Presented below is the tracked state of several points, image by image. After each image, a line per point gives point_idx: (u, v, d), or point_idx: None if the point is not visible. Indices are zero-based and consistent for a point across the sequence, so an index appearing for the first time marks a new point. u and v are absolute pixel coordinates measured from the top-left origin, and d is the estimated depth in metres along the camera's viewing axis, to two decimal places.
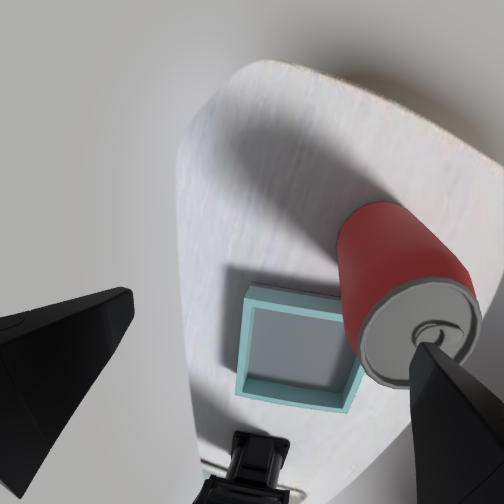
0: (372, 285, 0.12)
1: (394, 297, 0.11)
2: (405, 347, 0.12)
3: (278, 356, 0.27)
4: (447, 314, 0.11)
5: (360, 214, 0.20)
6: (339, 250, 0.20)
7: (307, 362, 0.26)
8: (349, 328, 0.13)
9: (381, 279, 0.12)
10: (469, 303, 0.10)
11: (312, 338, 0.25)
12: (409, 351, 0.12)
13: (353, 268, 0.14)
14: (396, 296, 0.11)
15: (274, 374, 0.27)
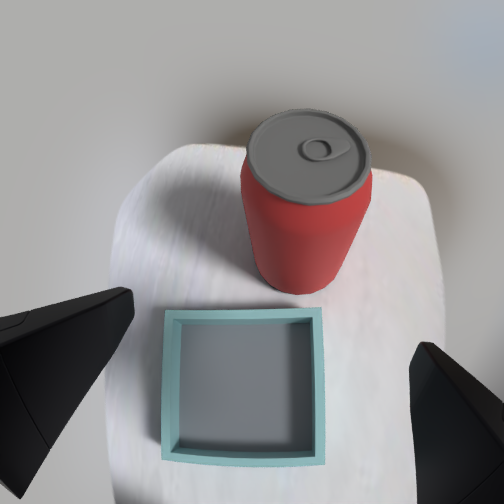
0: None
1: (265, 121, 0.14)
2: (297, 163, 0.13)
3: (214, 405, 0.20)
4: (322, 134, 0.14)
5: None
6: None
7: (252, 408, 0.20)
8: (244, 179, 0.14)
9: None
10: (338, 123, 0.14)
11: (251, 370, 0.21)
12: (305, 166, 0.13)
13: None
14: (266, 121, 0.14)
15: (213, 435, 0.19)
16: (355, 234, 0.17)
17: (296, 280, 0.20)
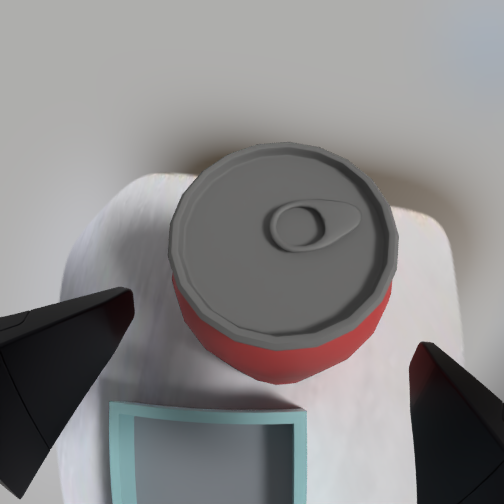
0: None
1: (208, 171, 0.08)
2: (261, 256, 0.07)
3: None
4: (311, 191, 0.08)
5: None
6: None
7: None
8: (172, 274, 0.08)
9: None
10: (339, 170, 0.08)
11: (217, 473, 0.14)
12: (274, 263, 0.07)
13: None
14: (210, 169, 0.08)
15: None
16: None
17: (272, 382, 0.13)
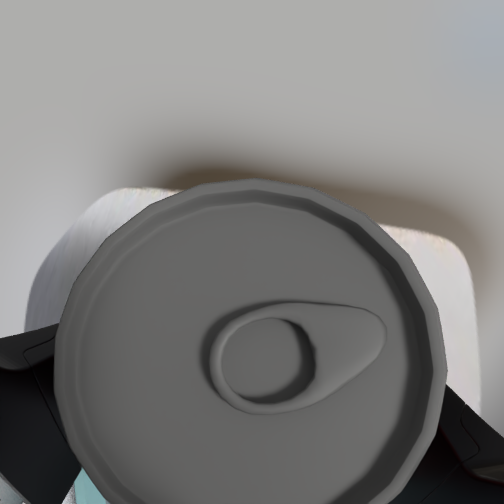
0: None
1: (112, 240, 0.04)
2: (194, 410, 0.04)
3: None
4: (294, 280, 0.04)
5: None
6: None
7: None
8: None
9: None
10: (349, 233, 0.05)
11: None
12: (218, 425, 0.04)
13: None
14: (116, 236, 0.05)
15: None
16: None
17: None
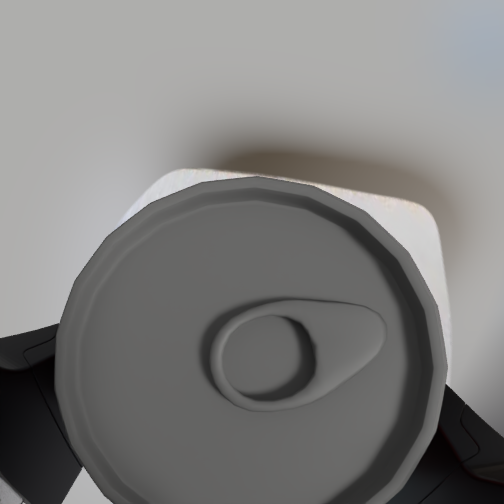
0: None
1: (112, 238, 0.05)
2: (195, 408, 0.04)
3: None
4: (294, 278, 0.04)
5: None
6: None
7: None
8: None
9: None
10: (349, 231, 0.05)
11: None
12: (219, 422, 0.04)
13: None
14: (116, 234, 0.05)
15: None
16: None
17: None
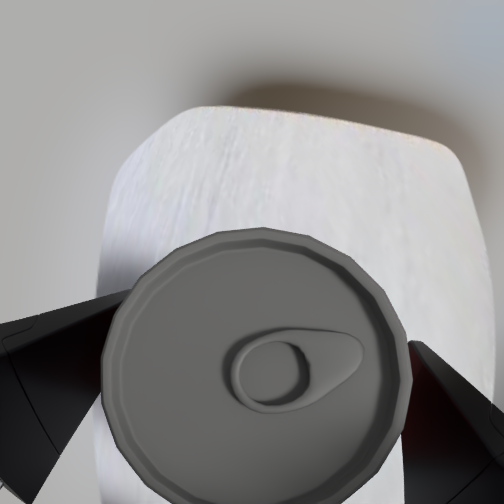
0: None
1: (146, 279, 0.06)
2: (218, 412, 0.05)
3: None
4: (293, 311, 0.06)
5: None
6: None
7: None
8: None
9: None
10: (336, 273, 0.06)
11: None
12: (237, 422, 0.05)
13: None
14: (149, 276, 0.06)
15: None
16: None
17: None
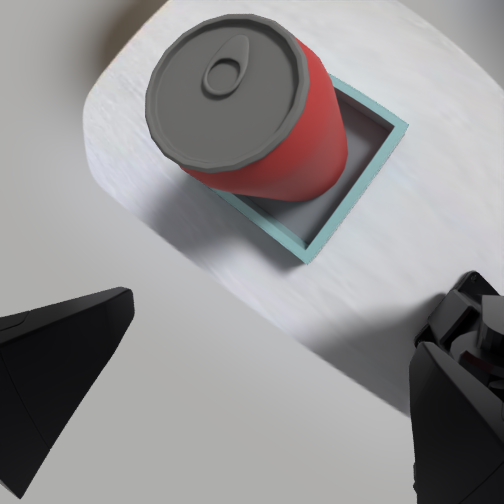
0: None
1: (147, 112, 0.10)
2: (224, 110, 0.09)
3: None
4: (207, 55, 0.09)
5: None
6: None
7: None
8: (198, 178, 0.11)
9: None
10: (206, 30, 0.09)
11: None
12: (234, 104, 0.09)
13: None
14: (147, 110, 0.10)
15: (319, 206, 0.20)
16: None
17: (329, 180, 0.16)
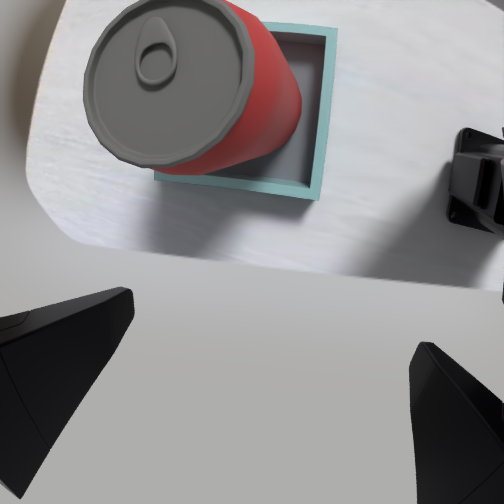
0: None
1: (101, 138, 0.08)
2: (176, 92, 0.08)
3: None
4: (128, 54, 0.08)
5: None
6: None
7: None
8: (185, 171, 0.10)
9: None
10: (113, 33, 0.07)
11: None
12: (183, 81, 0.08)
13: None
14: (99, 136, 0.08)
15: (298, 143, 0.19)
16: None
17: (296, 113, 0.15)
